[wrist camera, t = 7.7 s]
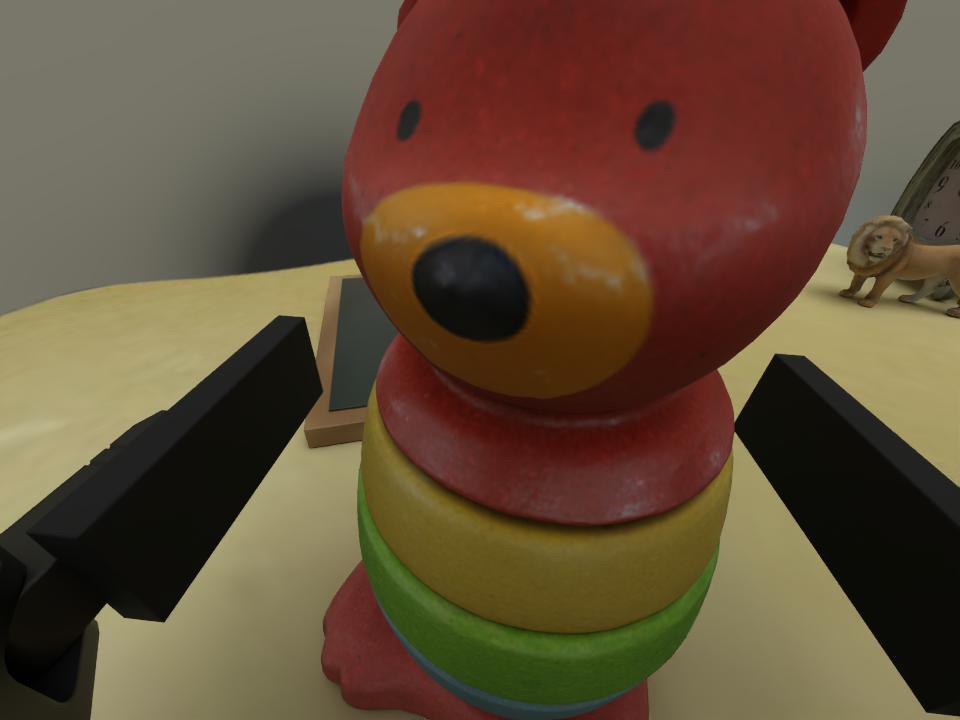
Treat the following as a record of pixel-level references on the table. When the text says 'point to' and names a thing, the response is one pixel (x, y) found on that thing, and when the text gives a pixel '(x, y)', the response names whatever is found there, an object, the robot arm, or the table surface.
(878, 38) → the stacking bear
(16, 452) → the table surface
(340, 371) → the chalkboard
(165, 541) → the robot arm
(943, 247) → the lion figurine
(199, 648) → the table surface
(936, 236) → the tabletop clock
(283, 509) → the table surface
